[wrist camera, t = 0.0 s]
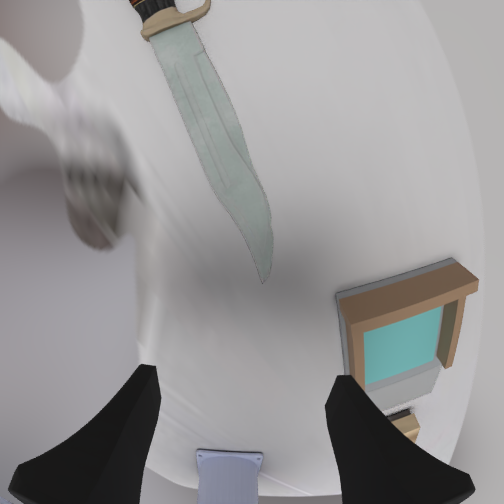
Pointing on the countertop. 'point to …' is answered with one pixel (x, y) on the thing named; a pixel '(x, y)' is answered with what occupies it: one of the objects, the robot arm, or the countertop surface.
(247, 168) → the knife
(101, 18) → the countertop surface
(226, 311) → the countertop surface
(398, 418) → the tan cardboard box
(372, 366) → the bay pad
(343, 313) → the dock
